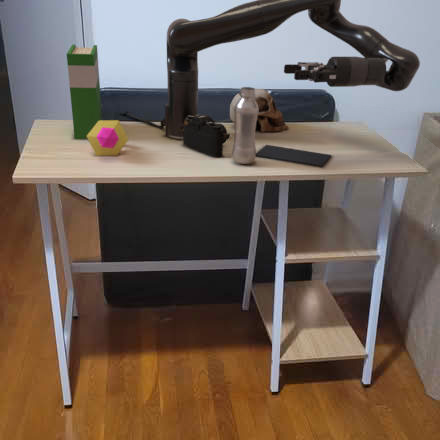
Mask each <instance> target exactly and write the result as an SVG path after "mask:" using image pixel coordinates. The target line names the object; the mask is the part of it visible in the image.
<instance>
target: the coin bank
mask: <svg viewBox="0 0 440 440" xmlns="http://www.w3.org/2000/svg"><path fill="white" fill-rule="evenodd" d="M240 93H241V91H240V92H238V93H237V94H236V95H235V96H234V97H233V98H232V101H231V103H230V105H229V118H230V121H232V123H233V124H234V125H235V114H234V113H235V112H234V108H235V105H236V103H237V102H238V101H239V99H240V98H241V96H240ZM254 100H255V101H256V103H257V105H258V108H259V111H258V117H257V122H256V129H257V130H260V132H261V133H266V132H267V133H269V132H270V133H271V132H278V131H280V132H282V131H284V130H287V129H288V128H289V126H288V124H287V123H286V122H285V121H284V115H283V113H282V112H281V111H279V109H278V108H277V105H276V102H275V101H274V98H273V97H272V96H271V94H270V93H269V92H268V91H267V90H265V89H263V88H255V96H254Z"/></svg>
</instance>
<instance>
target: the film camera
mask: <svg viewBox="0 0 440 440" xmlns="http://www.w3.org/2000/svg"><path fill="white" fill-rule="evenodd" d="M187 117H188V118H186V119H185V120H184V124H182V125H181V126H180V129H181V130H182V131H184V136H183V140H182V144H183V145H184V146H186V147H187V148H189V149H193V150H195V151H197V152H200V153H202V154H205V155H208V156H211V157H213V158H220V157H222V156H223V148H224V147H223V146H224V144H225V143H226V142H227V141H228V139H230V137H231V133H228V130H227V128H226V127H225V125H224V124H222V123H217V122H215V120H214V119H212V117H211V116H210V115H208V114H205V113H203V114H197V115H196V116H195V118H194V116H187Z"/></svg>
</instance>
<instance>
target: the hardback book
mask: <svg viewBox="0 0 440 440" xmlns="http://www.w3.org/2000/svg"><path fill="white" fill-rule="evenodd" d="M66 64H67V73H68V82H69V93H70V105H71V113H72V115H71V116H72V124H73V135H74V140H88V138H87V135H88V133H89V132H90V131H91V130H92V128H93V127H94V126H95V125H96V123H97V122H98V121H99V120H103V113H102V99H101V98H102V97H101V84H100V82H101V81H100V69H99V68H100V67H99V56H98V45H97V44H93V46H92V47H84V46H83V47H82V46H81V47H78V46H76V44H71V46H70V47H69V49H68V51H67V52H66Z"/></svg>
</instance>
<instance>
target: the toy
mask: <svg viewBox="0 0 440 440" xmlns="http://www.w3.org/2000/svg"><path fill="white" fill-rule="evenodd" d="M87 138H88V139H87V140H88V142H89V144H90V147H91V148H92V150H93V152H94V153H95V156H96V157H97V156H98V157H99V156H100V157H101V156H103V157H104V156H118V154H119V153H120V152H121V150H122V149H123V148H124V147H125V146H126V145H127V143H128V141H129V140H130V139H129V138H128V136H127V134H126V132H125V129H124V128H123V125H122V123H121V122H120V120H119V119H115V120H114V119H110V120H103V119H102V120H99V121H98V122H97V123H96V125H95V126H94V127H93V128H92V130H91V131H90V132H89V133H88V135H87Z"/></svg>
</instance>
